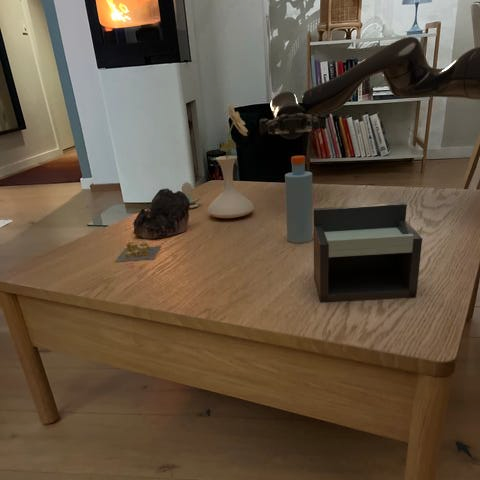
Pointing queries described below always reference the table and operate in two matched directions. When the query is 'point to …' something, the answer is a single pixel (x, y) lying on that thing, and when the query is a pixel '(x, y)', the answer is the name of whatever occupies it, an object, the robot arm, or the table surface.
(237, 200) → the flower in vase
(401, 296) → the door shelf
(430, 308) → the table surface
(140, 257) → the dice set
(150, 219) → the dark brown rock
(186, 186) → the pacifier
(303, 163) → the plastic bottle
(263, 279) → the table surface
